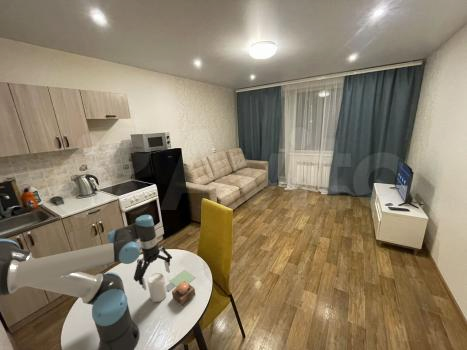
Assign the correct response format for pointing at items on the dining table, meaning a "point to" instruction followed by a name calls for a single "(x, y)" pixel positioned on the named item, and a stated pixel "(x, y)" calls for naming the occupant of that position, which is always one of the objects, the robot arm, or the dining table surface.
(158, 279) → the beverage can
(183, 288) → the plunger
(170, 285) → the pad
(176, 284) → the pad
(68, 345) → the dining table surface
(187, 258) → the dining table surface
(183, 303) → the housing
